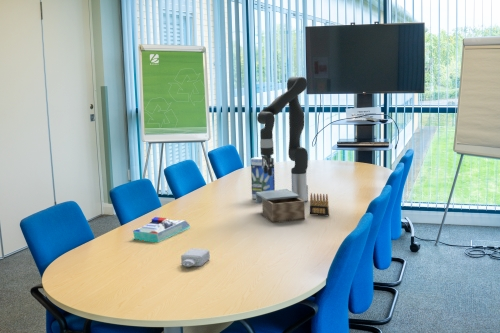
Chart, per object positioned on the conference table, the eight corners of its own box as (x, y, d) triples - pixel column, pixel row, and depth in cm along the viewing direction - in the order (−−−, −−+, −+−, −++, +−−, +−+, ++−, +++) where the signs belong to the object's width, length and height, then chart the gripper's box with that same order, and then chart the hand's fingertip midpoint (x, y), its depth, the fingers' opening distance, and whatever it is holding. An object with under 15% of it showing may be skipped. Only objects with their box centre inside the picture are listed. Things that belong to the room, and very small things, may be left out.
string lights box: (251, 198, 365) (250, 158, 361) (257, 196, 372) (255, 156, 368) (270, 200, 359) (269, 159, 355) (275, 197, 366) (274, 157, 362)
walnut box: (293, 212, 327) (292, 194, 325) (304, 219, 310) (304, 201, 308) (262, 215, 322) (262, 197, 320) (273, 222, 305) (272, 204, 303)
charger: (175, 270, 237) (190, 258, 251) (195, 271, 234) (209, 260, 248) (174, 259, 236) (189, 248, 250) (195, 260, 233) (209, 249, 247)
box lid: (287, 199, 336) (286, 189, 335) (299, 206, 318) (299, 195, 317) (255, 202, 331) (255, 192, 330) (266, 209, 312) (266, 198, 311)
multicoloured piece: (129, 240, 283) (128, 223, 282) (165, 225, 310) (164, 209, 308) (157, 244, 276) (156, 226, 274) (191, 228, 302) (191, 212, 301)
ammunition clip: (329, 215, 317) (328, 193, 315) (328, 215, 315) (327, 194, 313) (310, 213, 322) (310, 192, 320) (309, 214, 320) (309, 193, 318)
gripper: (277, 147, 328) (277, 175, 331) (269, 144, 342) (270, 172, 344) (264, 148, 326) (265, 176, 329) (257, 145, 340) (258, 173, 342)
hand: (267, 174), depth 336 cm, fingers open, 7 cm apart
